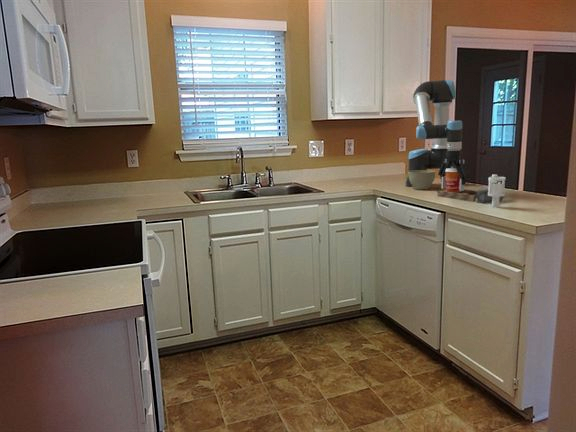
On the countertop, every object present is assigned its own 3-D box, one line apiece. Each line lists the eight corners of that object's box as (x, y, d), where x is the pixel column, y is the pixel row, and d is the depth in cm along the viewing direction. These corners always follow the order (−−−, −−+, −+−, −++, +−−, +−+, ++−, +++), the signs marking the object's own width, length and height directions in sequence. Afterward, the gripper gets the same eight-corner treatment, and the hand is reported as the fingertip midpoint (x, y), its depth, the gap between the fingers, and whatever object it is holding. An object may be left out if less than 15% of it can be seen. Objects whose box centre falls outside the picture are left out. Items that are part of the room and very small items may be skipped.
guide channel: (437, 196, 236) (437, 185, 235) (456, 193, 242) (456, 182, 241) (483, 203, 210) (483, 191, 208) (503, 200, 216) (503, 188, 214)
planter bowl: (436, 190, 255) (437, 172, 253) (408, 191, 258) (409, 173, 256) (433, 186, 270) (433, 169, 268) (407, 187, 274) (407, 170, 272)
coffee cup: (441, 195, 236) (442, 168, 233) (449, 194, 241) (450, 167, 238) (455, 197, 230) (456, 169, 227) (463, 195, 235) (464, 168, 232)
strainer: (498, 205, 204) (500, 173, 201) (506, 207, 197) (508, 175, 194) (484, 206, 204) (485, 174, 201) (491, 208, 197) (493, 176, 194)
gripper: (432, 149, 239) (431, 187, 244) (467, 150, 218) (465, 192, 222) (441, 148, 243) (440, 186, 247) (477, 150, 221) (475, 191, 226)
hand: (452, 189), depth 235 cm, fingers open, 12 cm apart
